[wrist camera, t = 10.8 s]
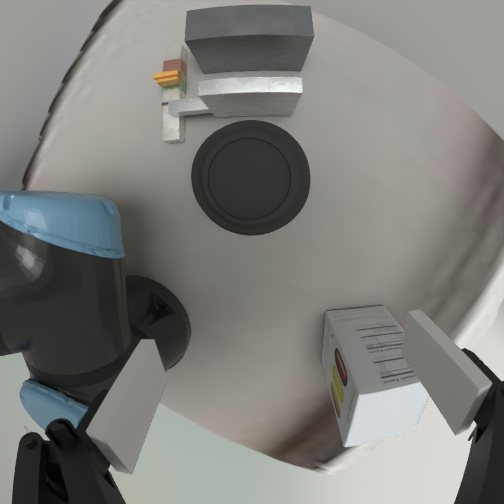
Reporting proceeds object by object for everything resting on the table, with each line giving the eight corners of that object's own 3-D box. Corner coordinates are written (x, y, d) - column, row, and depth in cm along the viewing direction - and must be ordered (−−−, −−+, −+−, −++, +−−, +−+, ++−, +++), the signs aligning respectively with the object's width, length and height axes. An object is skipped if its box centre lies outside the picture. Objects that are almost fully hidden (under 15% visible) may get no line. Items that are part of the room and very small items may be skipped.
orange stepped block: (161, 87, 28) (153, 80, 25) (161, 78, 27) (153, 71, 25) (183, 84, 27) (177, 76, 25) (184, 75, 27) (177, 67, 25)
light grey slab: (180, 120, 31) (150, 102, 22) (180, 109, 31) (150, 87, 21) (291, 115, 31) (302, 92, 21) (290, 104, 30) (301, 77, 21)
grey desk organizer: (168, 142, 32) (135, 132, 23) (171, 53, 29) (143, 20, 19) (303, 137, 32) (320, 122, 22) (298, 45, 28) (310, 6, 19)
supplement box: (323, 309, 37) (358, 392, 21) (384, 303, 37) (441, 373, 21) (320, 364, 40) (342, 450, 24) (375, 356, 39) (415, 432, 23)
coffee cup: (234, 129, 32) (214, 95, 17) (303, 158, 32) (336, 145, 18) (205, 198, 34) (166, 213, 19) (274, 226, 35) (284, 261, 20)
